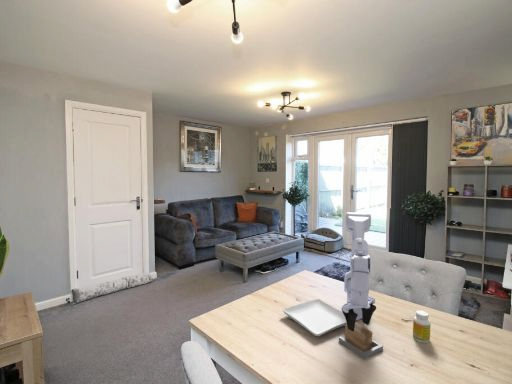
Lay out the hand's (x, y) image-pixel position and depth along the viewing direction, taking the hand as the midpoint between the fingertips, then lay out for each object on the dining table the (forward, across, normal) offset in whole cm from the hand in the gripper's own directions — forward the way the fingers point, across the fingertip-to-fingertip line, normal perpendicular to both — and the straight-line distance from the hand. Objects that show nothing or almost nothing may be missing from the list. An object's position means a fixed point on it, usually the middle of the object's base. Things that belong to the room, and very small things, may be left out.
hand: (358, 326), depth 97 cm
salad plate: (+7, -2, +19) cm, 20 cm away
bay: (+6, 0, 0) cm, 6 cm away
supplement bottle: (+6, +23, -9) cm, 26 cm away
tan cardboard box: (+6, 0, 0) cm, 7 cm away
